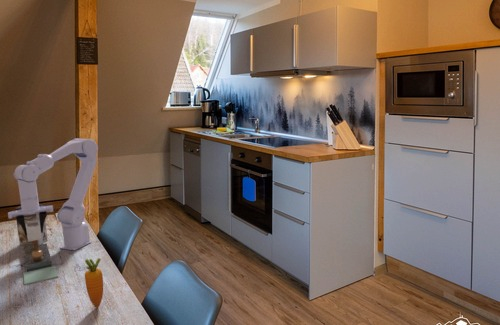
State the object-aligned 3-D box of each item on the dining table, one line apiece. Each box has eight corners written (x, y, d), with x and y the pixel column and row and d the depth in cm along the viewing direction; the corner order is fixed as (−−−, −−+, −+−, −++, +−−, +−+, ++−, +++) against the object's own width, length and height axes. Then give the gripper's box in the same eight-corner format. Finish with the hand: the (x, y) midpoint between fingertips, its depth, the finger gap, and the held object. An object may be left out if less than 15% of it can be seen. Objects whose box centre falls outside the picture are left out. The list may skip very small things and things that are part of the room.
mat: (23, 273, 142) (23, 272, 142) (55, 266, 147) (55, 265, 147) (24, 285, 134) (24, 283, 134) (58, 277, 139) (58, 276, 139)
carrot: (108, 302, 120) (103, 254, 117) (103, 311, 115) (97, 261, 113) (91, 303, 120) (85, 255, 117) (85, 312, 115) (79, 262, 112)
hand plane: (24, 253, 161) (22, 237, 160) (47, 249, 165) (45, 233, 164) (26, 272, 144) (24, 254, 143) (52, 266, 148) (49, 249, 146)
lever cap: (27, 236, 154) (25, 222, 153) (40, 234, 156) (38, 219, 155) (28, 241, 149) (26, 226, 148) (41, 239, 151) (39, 223, 150)
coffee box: (18, 245, 170) (13, 208, 167) (28, 240, 176) (23, 203, 173) (39, 245, 169) (34, 208, 166) (48, 240, 175) (44, 203, 172)
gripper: (6, 203, 143) (11, 240, 145) (52, 196, 150) (56, 232, 152) (6, 199, 149) (11, 235, 151) (50, 193, 156) (54, 227, 159)
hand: (33, 233), depth 152 cm, fingers closed on lever cap, 4 cm apart
